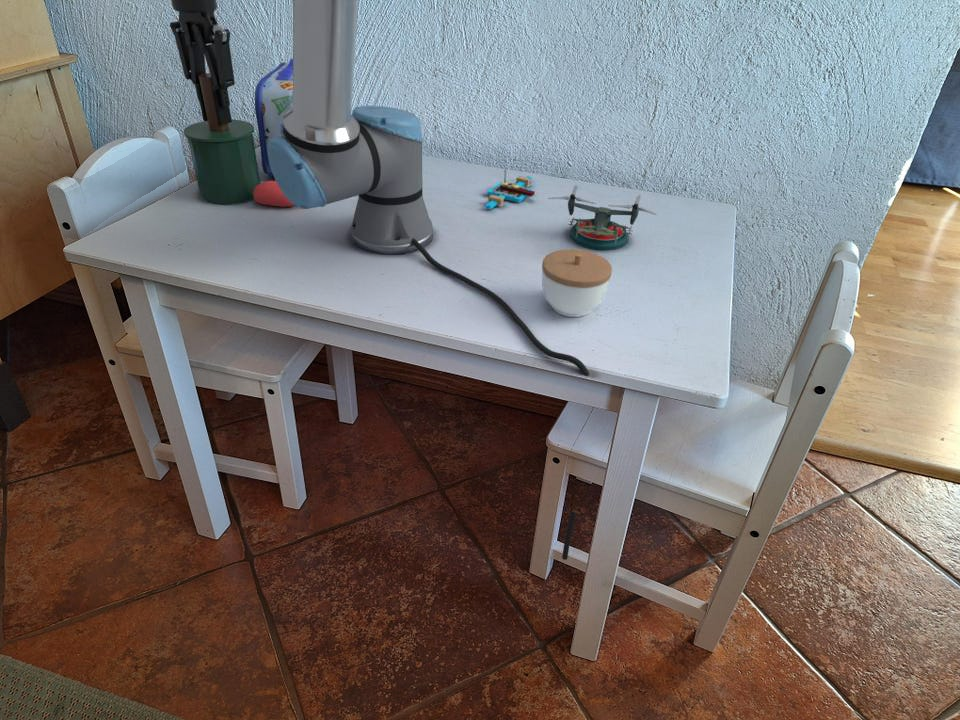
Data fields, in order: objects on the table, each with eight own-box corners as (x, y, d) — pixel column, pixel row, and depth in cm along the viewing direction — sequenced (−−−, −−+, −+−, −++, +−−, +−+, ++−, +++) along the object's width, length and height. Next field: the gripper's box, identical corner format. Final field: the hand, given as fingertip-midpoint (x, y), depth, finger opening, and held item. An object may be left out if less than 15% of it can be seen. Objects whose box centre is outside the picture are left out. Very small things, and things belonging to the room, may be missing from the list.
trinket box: (598, 291, 110) (606, 240, 104) (610, 326, 101) (620, 272, 96) (534, 289, 109) (540, 238, 104) (541, 325, 101) (547, 271, 95)
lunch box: (288, 144, 163) (275, 48, 150) (329, 145, 164) (320, 50, 151) (259, 185, 141) (241, 77, 128) (308, 187, 141) (295, 79, 128)
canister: (273, 190, 139) (264, 131, 132) (229, 209, 131) (216, 147, 123) (233, 178, 144) (222, 120, 137) (187, 195, 136) (173, 134, 128)
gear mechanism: (551, 186, 147) (514, 177, 151) (553, 162, 144) (515, 154, 148) (511, 216, 133) (471, 206, 136) (513, 191, 130) (472, 181, 133)
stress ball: (283, 221, 130) (295, 192, 128) (243, 198, 130) (255, 169, 128) (294, 219, 135) (306, 191, 133) (256, 197, 135) (267, 169, 133)
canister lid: (269, 133, 132) (259, 74, 126) (216, 150, 123) (204, 87, 116) (223, 121, 137) (212, 64, 131) (170, 136, 128) (155, 76, 122)
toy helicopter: (653, 233, 129) (661, 192, 124) (646, 268, 117) (655, 225, 112) (554, 217, 133) (558, 178, 128) (537, 250, 121) (541, 207, 116)
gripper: (240, -13, 114) (262, 124, 128) (177, -22, 121) (204, 109, 135) (206, -9, 109) (232, 134, 123) (141, -18, 116) (173, 118, 129)
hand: (217, 121), depth 129 cm, fingers closed on canister lid, 4 cm apart
